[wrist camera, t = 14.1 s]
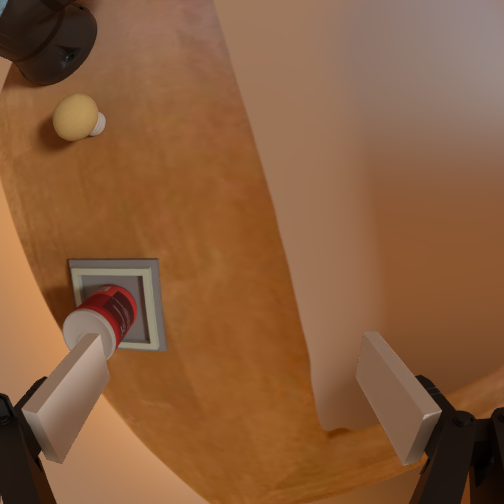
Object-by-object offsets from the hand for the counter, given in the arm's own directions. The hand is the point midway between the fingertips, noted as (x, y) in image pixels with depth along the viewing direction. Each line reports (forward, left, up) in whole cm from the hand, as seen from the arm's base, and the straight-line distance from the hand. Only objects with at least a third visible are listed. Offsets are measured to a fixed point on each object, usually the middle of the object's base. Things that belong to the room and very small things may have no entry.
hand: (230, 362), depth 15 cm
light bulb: (-18, -21, -32) cm, 42 cm away
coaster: (+10, -19, -32) cm, 38 cm away
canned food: (+10, -19, -31) cm, 38 cm away
